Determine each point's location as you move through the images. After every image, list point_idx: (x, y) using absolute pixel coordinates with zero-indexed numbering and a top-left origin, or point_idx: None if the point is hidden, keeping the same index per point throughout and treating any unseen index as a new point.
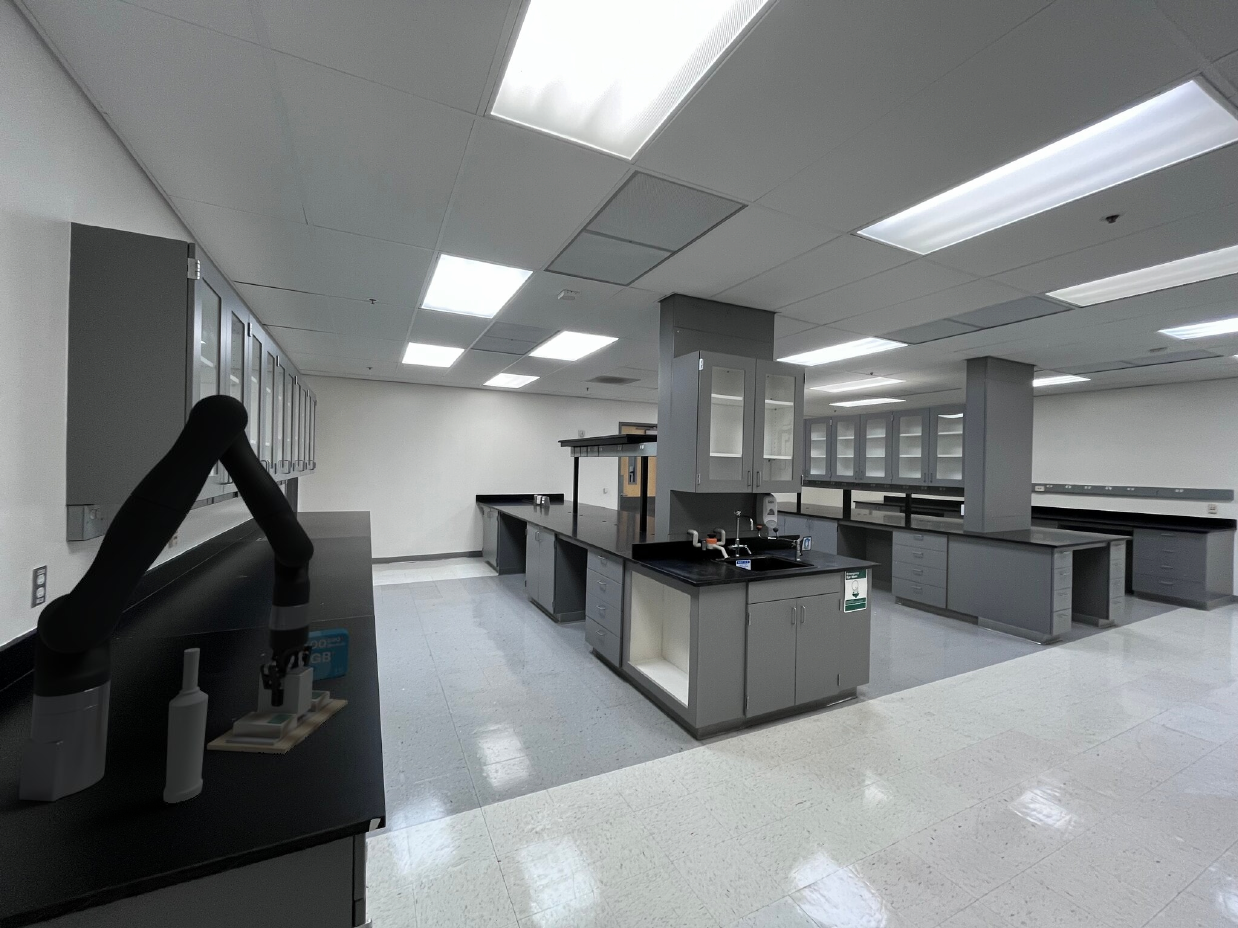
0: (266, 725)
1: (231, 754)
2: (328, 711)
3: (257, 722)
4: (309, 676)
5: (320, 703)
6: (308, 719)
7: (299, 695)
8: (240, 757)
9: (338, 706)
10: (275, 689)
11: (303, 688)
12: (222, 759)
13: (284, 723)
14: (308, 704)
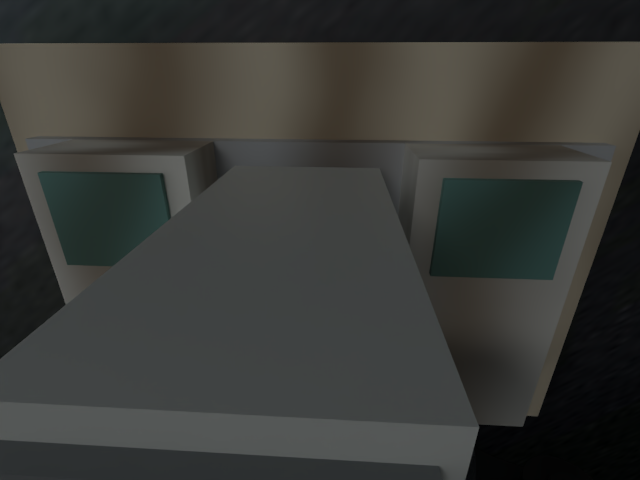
0: (575, 261)
1: (588, 300)
2: (162, 79)
3: (533, 329)
4: (165, 304)
5: (151, 146)
6: (289, 139)
7: (388, 224)
8: (627, 250)
9: (81, 53)
10: (577, 467)
11: (324, 243)
12: (628, 308)
13: (573, 159)
14: (257, 175)
